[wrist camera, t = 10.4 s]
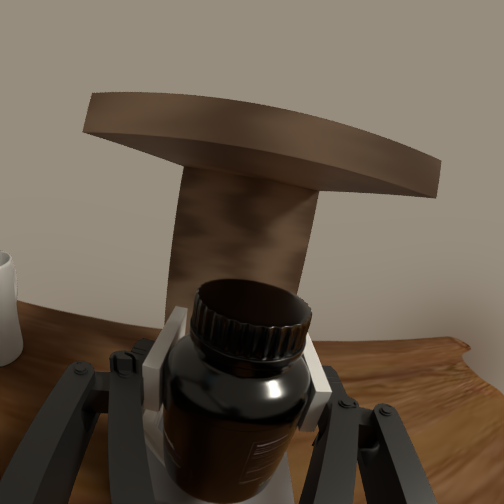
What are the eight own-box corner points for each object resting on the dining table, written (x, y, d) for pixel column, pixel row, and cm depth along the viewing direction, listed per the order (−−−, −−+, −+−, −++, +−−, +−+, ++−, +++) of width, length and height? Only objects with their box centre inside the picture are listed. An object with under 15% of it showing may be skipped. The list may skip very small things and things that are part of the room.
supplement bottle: (141, 457, 13) (134, 279, 11) (214, 416, 19) (240, 263, 16) (226, 528, 9) (284, 366, 7) (291, 464, 15) (356, 306, 12)
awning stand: (112, 491, 13) (92, 92, 8) (165, 358, 32) (189, 152, 27) (291, 517, 13) (441, 160, 9) (271, 376, 32) (318, 176, 28)
